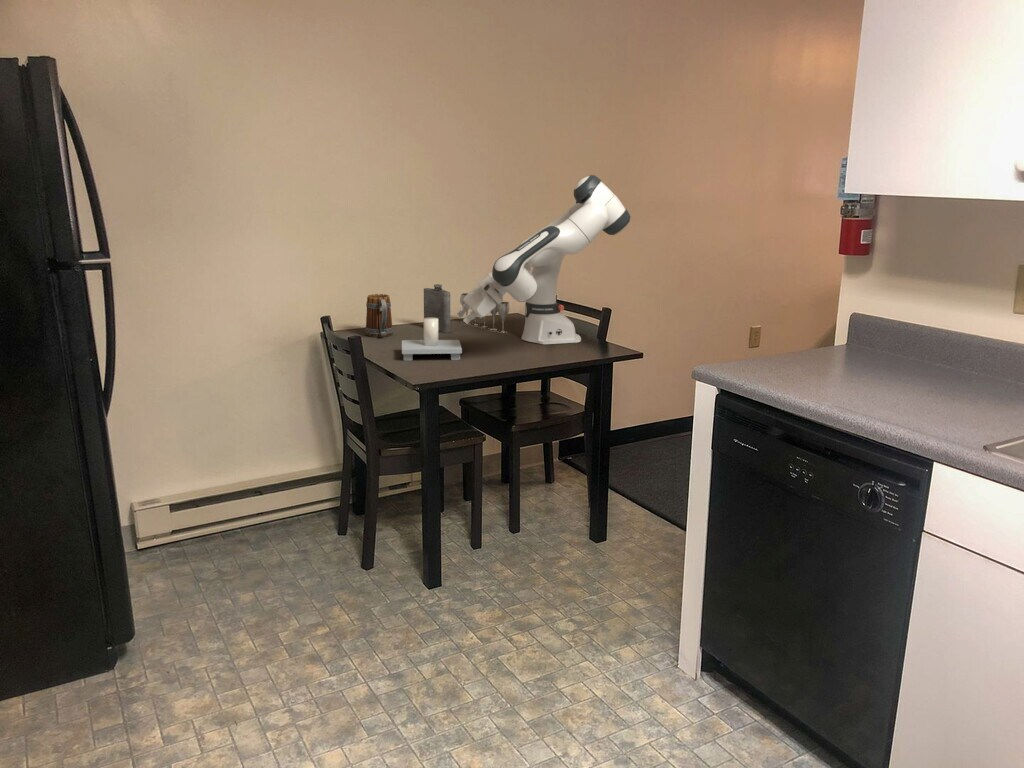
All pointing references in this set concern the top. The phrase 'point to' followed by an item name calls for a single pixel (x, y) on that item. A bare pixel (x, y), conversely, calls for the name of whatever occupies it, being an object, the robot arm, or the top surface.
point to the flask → (438, 306)
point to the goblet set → (492, 311)
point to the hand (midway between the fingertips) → (461, 319)
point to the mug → (378, 316)
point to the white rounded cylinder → (430, 331)
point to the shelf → (431, 348)
